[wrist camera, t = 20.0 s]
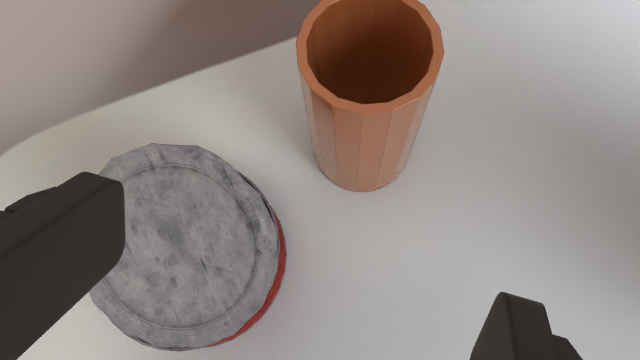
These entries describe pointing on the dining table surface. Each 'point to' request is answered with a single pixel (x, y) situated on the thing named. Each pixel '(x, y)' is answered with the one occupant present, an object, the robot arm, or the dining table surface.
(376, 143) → the tumbler
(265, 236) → the canned food
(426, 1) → the dining table surface
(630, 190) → the dining table surface
